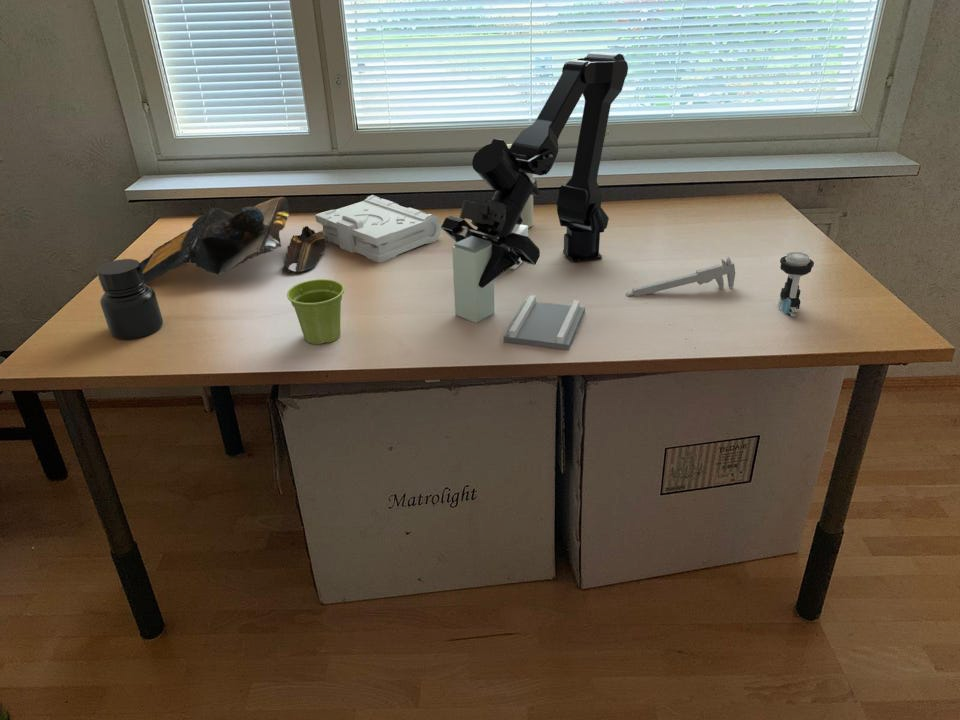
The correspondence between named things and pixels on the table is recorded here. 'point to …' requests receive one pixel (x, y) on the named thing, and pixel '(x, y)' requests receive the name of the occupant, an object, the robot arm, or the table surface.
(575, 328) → the rail plate
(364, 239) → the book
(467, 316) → the block
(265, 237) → the toolset
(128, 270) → the ink bottle
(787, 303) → the push button
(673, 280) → the caliper
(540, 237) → the table surface
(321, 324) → the plant pot
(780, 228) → the table surface
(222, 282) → the table surface
